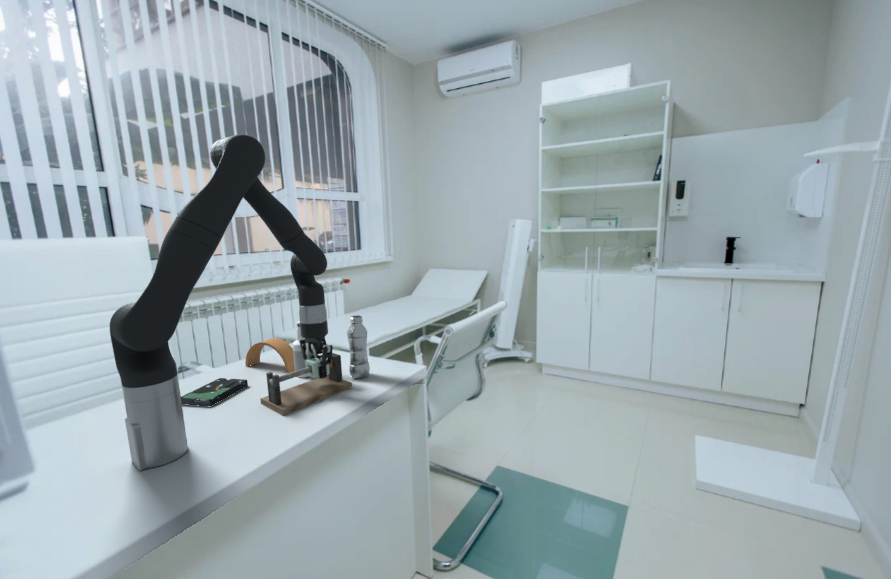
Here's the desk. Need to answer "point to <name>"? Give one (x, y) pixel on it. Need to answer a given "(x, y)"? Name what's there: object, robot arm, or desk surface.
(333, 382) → the rod stand
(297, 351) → the spray bottle
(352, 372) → the plastic bottle
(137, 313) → the robot arm
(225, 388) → the disk drive
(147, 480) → the desk surface
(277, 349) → the arch
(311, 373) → the sleeve
